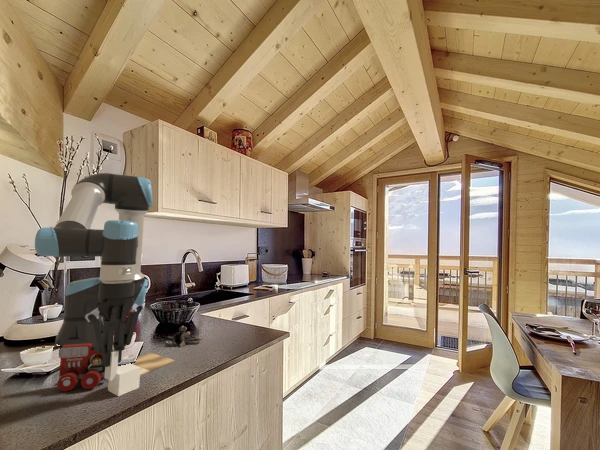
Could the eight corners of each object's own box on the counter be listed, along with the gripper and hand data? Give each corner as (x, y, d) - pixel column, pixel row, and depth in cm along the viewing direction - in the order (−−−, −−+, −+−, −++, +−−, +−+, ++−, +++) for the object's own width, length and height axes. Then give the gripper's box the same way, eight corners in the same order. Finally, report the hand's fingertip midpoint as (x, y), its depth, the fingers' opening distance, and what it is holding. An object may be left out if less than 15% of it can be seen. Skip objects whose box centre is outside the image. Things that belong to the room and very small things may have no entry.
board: (93, 372, 79) (93, 371, 79) (149, 353, 93) (149, 352, 93) (118, 384, 72) (118, 383, 72) (175, 361, 87) (175, 360, 87)
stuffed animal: (196, 344, 100) (170, 325, 100) (180, 367, 99) (153, 347, 99) (207, 334, 111) (183, 316, 112) (192, 354, 111) (169, 337, 111)
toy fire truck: (106, 388, 70) (108, 346, 71) (48, 393, 67) (51, 350, 68) (117, 375, 77) (119, 337, 77) (66, 380, 74) (68, 340, 75)
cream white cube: (107, 390, 69) (109, 369, 69) (128, 382, 73) (129, 363, 74) (118, 396, 67) (119, 374, 67) (139, 387, 71) (140, 367, 71)
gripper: (96, 285, 62) (87, 394, 60) (151, 280, 73) (145, 371, 71) (80, 282, 66) (71, 385, 64) (134, 278, 77) (128, 365, 75)
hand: (110, 378), depth 68 cm, fingers closed
